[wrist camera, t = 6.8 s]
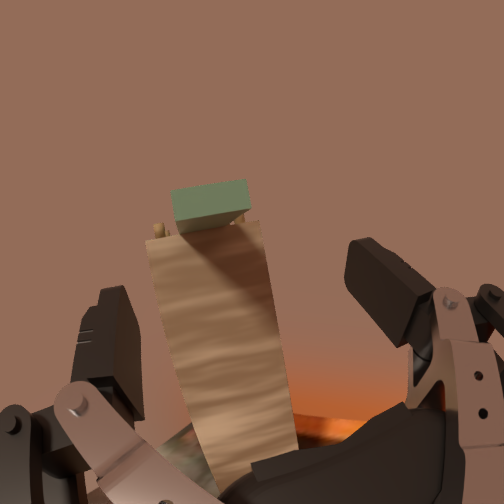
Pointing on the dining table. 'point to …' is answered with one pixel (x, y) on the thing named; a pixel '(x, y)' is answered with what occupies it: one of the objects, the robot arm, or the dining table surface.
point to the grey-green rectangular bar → (209, 205)
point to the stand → (224, 343)
